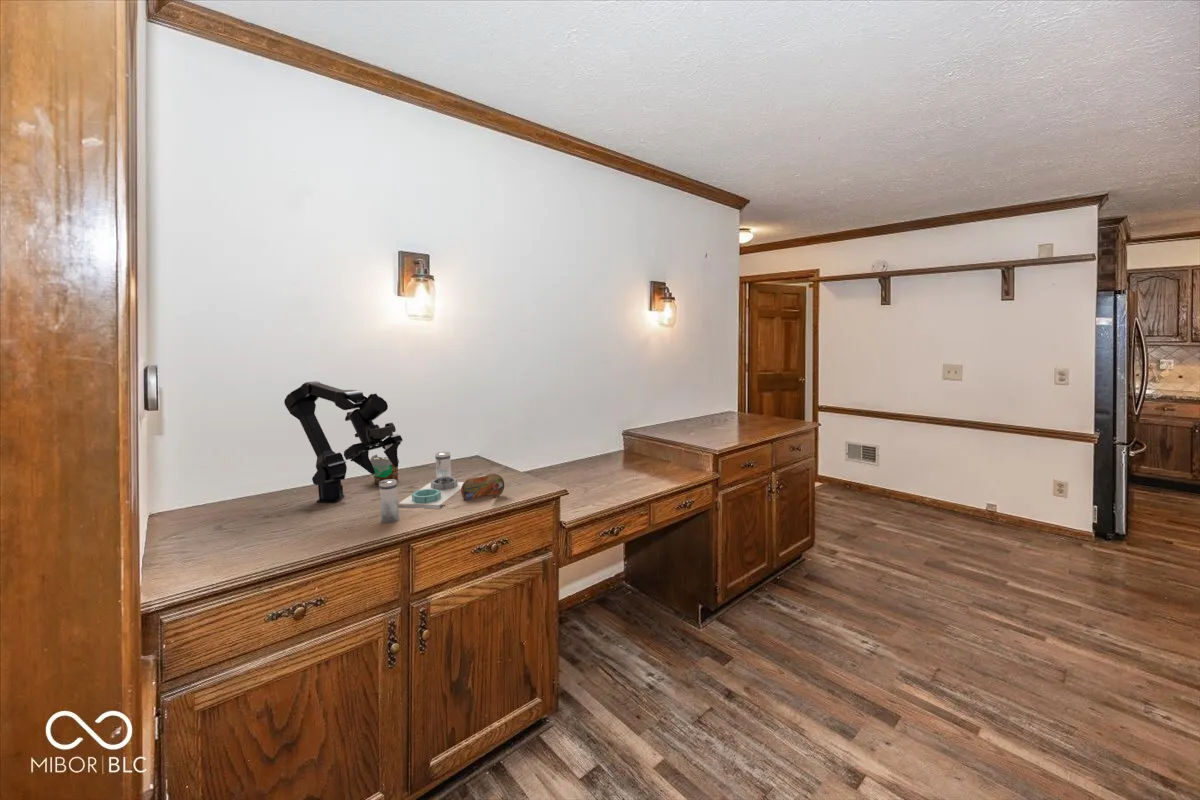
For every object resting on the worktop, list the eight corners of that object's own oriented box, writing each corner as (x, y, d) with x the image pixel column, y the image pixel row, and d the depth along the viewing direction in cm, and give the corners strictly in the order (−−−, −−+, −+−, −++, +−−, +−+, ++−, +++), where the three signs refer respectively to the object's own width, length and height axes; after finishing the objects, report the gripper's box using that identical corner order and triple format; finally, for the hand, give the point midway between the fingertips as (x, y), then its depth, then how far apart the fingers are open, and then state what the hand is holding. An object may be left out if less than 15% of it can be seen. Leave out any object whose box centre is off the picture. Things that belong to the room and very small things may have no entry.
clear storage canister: (378, 523, 158) (375, 484, 156) (385, 517, 163) (382, 479, 162) (395, 523, 158) (392, 484, 156) (401, 517, 163) (399, 479, 161)
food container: (363, 484, 198) (362, 457, 197) (377, 479, 203) (376, 454, 202) (387, 488, 192) (385, 461, 191) (400, 484, 198) (398, 457, 196)
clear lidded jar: (434, 488, 187) (433, 455, 185) (439, 484, 192) (437, 451, 190) (449, 488, 187) (447, 454, 185) (453, 484, 192) (452, 451, 190)
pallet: (398, 507, 171) (397, 497, 171) (432, 485, 196) (432, 475, 196) (439, 509, 170) (439, 498, 169) (469, 486, 194) (468, 477, 194)
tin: (464, 505, 173) (463, 480, 172) (460, 503, 176) (459, 478, 174) (505, 496, 183) (504, 472, 182) (500, 494, 185) (500, 470, 184)
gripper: (354, 419, 157) (377, 466, 155) (402, 410, 174) (423, 453, 172) (333, 436, 162) (355, 482, 160) (382, 426, 179) (402, 467, 177)
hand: (385, 470), depth 167 cm, fingers open, 9 cm apart
